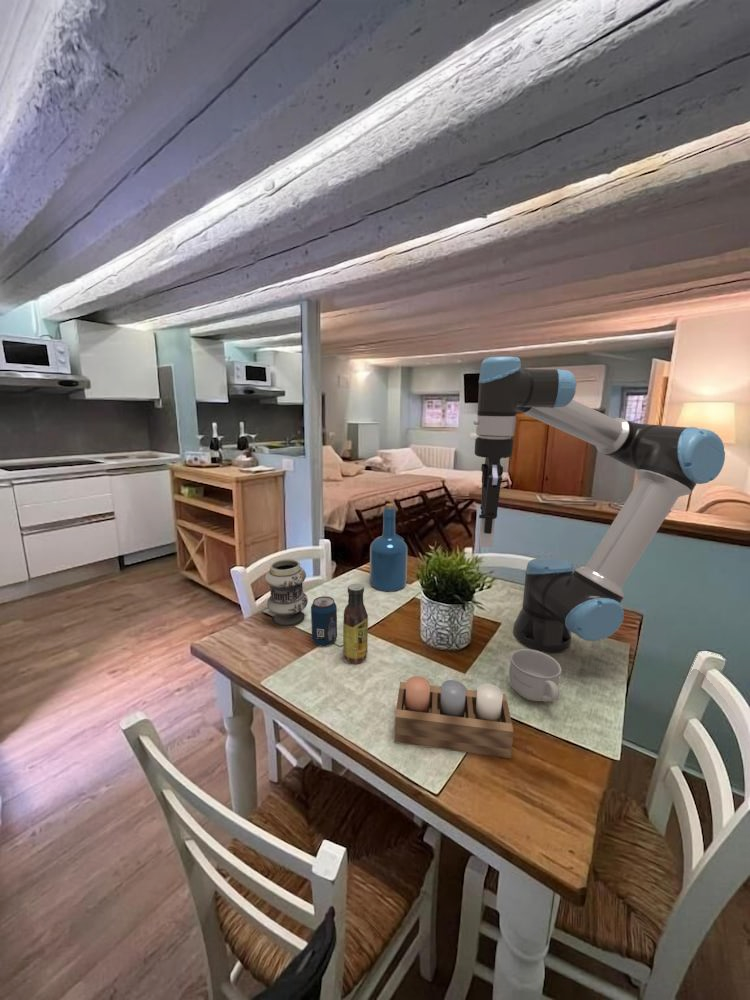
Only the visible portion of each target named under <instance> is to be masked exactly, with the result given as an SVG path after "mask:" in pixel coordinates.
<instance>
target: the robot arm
mask: <svg viewBox="0 0 750 1000" xmlns="http://www.w3.org/2000/svg"><path fill="white" fill-rule="evenodd" d="M576 389H577V380H576V378H575V375H574V373H573V372H571V371H569V370H567V369H559V368H554V369H553V368H551V369H550V368H548V369H547V368H546V369H545V368H543V369H541V368H531V369H530V368H529V369H528V368H523V367H522V363H521V359H520V358H519V357H517V356H489V357H486V358H484V359H483V361H482V362H481V365H480V371H479V379H478V402H477V412H476V413H477V417H476V418H477V419H474V420H473V425H474V426H476V427H475V428H476V429H475V431H476V432H475V433H476V435H477V437H476V438H475V440H474V441H475V442H474V455H475V456H477V457H479V458H484V459H485V460H484V463H482V464H481V466H480V467H481V469H480V470H481V500H480V501H481V502H480V510H481V511H480V514H478V518H479V519H480V528H479V541H478V545H479V547H483V548H493V545H494V534H495V521H496V519H497V517H498V509H499V508H498V507H499V500H500V499H499V498H500V491H501V485H502V482H503V481H502V480H503V473H504V467H503V466H502V464H501V459H507V458H511V457H512V456H513V450H514V448H513V447H514V439H513V438H512V437H514V436H515V431H516V430H515V429H516V420H517V412H519V413H521V414H524V415H526V416H528V417H531V418H533V419H536V420H538V421H539V422H542V423H544V424H546V425H548V426H550V427H553V428H555V429H558V430H560V431H561V432H564V433H565V434H569V435H571V436H573V437H575V438H578V439H580V440H581V441H584V442H586V443H589V444H591V445H593V446H595V448H596V449H597V451H598V452H599V453H601V454H603V455H606V456H607V457H609V458H612V459H614V460H615V461H617V462H620V463H622V464H623V465H625V466H627V467H629V468H632V469H634V470H636V471H635V473H636V476H637V479H638V481H637V483H636V484H635V486H634V488H633V489H632V491H631V492H630V494H629V496H627V499H626V500H625V502H624V503H623V506H622V507H621V509H620V510H619V512H618V514H616V516H615V518H614V520H613V521H612V522H611V525H610V526H609V527H608V529H607V531H606V533H605V534H604V535H603V537H602V538H601V539H602V540H601V541H600V542H599V543H598V546H597V547H596V549H595V550H594V552H593V553H592V555H591V557H590V559H589V560H588V562H587V563H586V565H585V566H582V567H579V568H578V567H577V568H575V567H574V565H573V563H571V562H570V561H568V560H566V559H565V560H564V559H561V558H554V557H538V558H537V557H536V558H533V559H531V560H529V562H527V564H526V570H525V572H524V574H525V579H524V587H523V597H522V607H521V608H520V611H519V613H518V615H517V616H516V619H515V621H514V623H513V631H512V632H513V633H512V634H513V636H514V638H515V639H516V640H517V642H519V643H521V644H522V645H524V646H525V647H526V648H529V649H531V650H536V651H540V652H543V653H546V654H547V653H549V654H554V653H555V654H557V653H562V652H566V651H567V650H568V649H569V648H571V642H572V633H573V634H574V635H576V636H577V637H579V638H580V639H582V640H585V641H589V642H597V641H601V640H602V639H603V640H605V639H607V638H609V637H610V636H612V635H614V634H615V633H616V632H617V631H618V630H619V629H620V627H621V626H622V624H623V621H624V618H625V616H624V614H625V611H624V608H623V606H622V604H621V603H622V601H623V599H624V597H625V594H624V591H623V585H624V583H625V582H626V580H627V579H628V577H629V575H630V574H631V573H632V571H633V569H634V568H635V566H636V565H637V563H638V561H639V560H640V559H641V557H642V555H643V553H645V550H646V549H647V547H648V546H649V545H650V542H651V541H652V540H653V538H654V537H655V535H656V533H657V532H658V530H659V529H660V527H661V525H662V524H663V522H664V521H665V519H666V518H667V516H668V515H669V513H670V511H671V510H672V508H673V507H674V505H675V504H676V502H677V500H678V499H679V498H680V497H684V496H688V495H691V493H692V492H693V490H694V489H695V487H696V486H697V485H703V484H708V483H710V482H712V481H714V480H715V479H716V478H717V477H718V476H719V475H720V474H721V472H722V470H723V467H724V465H725V461H726V451H725V444H724V443H723V440H722V438H721V437H720V436H719V435H718V434H717V433H715V432H714V431H712V430H710V429H705V428H698V427H695V426H689V427H686V426H675V425H674V426H672V425H660V424H651V423H650V424H649V423H647V424H646V423H639V422H632V421H630V420H627V419H625V418H622V417H615V418H613V417H611V416H609V415H606V414H604V413H602V412H600V411H598V410H596V409H593V408H592V407H589V406H587V405H585V404H584V403H581V402H579V401H577V400H575V399H574V398H575V395H576V392H577V391H576Z"/></svg>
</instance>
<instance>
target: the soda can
mask: <svg viewBox="0 0 750 1000" xmlns="http://www.w3.org/2000/svg"><path fill="white" fill-rule="evenodd" d="M337 608H338V607H337V604H336V602H335V599H334V598H333V597H331V596H327V595H326V596H318V597H316V598H314V599H313V601H312V604H311V606H310V615H311V619H310V620H311V622H310V623H311V639H312V641H313V642H314V643H315V645H317V646H320V647H328V646H331V645H332V644H334V643H335V641H336V640H337V638H338V616H337V615H338V613H337V612H338V609H337Z"/></svg>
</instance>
